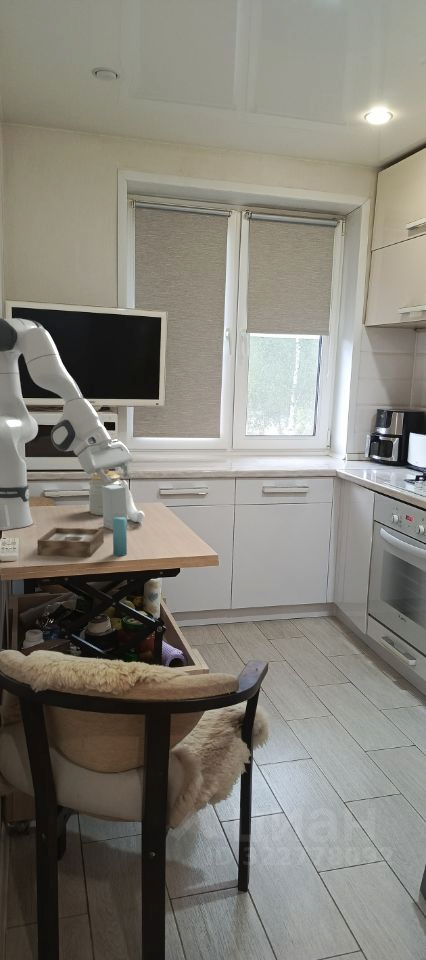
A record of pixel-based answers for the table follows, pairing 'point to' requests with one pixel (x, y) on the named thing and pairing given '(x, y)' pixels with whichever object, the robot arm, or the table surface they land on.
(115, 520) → the teal rectangular block
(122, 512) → the skincare box
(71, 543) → the peg box
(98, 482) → the jar
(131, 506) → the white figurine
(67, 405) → the robot arm
